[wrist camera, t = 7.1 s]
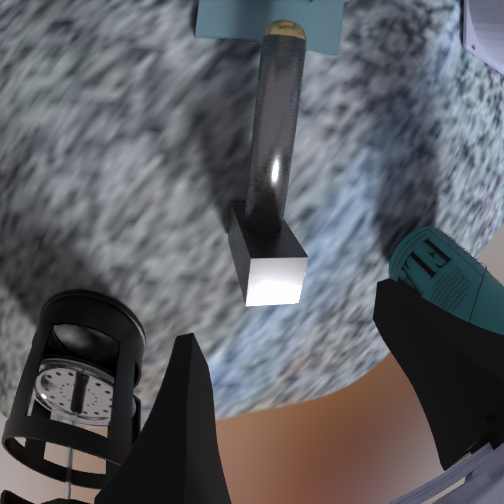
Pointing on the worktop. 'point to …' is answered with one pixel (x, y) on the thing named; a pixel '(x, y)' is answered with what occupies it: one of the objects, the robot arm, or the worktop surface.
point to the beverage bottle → (449, 278)
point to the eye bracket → (272, 20)
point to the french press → (77, 394)
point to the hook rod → (271, 176)
